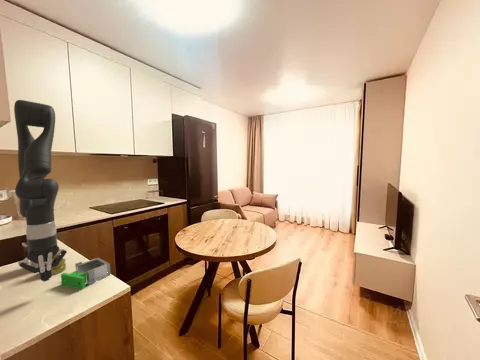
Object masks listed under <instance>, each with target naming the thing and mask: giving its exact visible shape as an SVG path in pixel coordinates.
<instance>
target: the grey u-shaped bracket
mask: <svg viewBox="0 0 480 360" xmlns="http://www.w3.org/2000/svg"><path fill="white" fill-rule="evenodd" d="M74 265H75V271H78V274H81V273H84V272H86V284H87V285H89V286H91V285H94V284H96V282H97V281H99V280H102V279H105V278H107V277H109V276H111V275H110V274H112V273H111V263H109V262H108V261H106V260H104V259H102V258H101V257H96V258H92V259H90V260H87V261H84V262H83V261H79V262H77V263H75V264H74ZM107 272H108V273H107Z"/></svg>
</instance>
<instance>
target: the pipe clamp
mask: <svg viewBox="0 0 480 360" xmlns="http://www.w3.org/2000/svg"><path fill="white" fill-rule="evenodd" d="M60 279H61V280H60V281H61V285H62V286H66V287H71V288H73V289H74V288H75V289H79V290H84V289H85V288H86V284H87V277H86V272H84V273H81V274H78V271H76V270H75V271H73V272H70V273H67V272H63V273H60Z"/></svg>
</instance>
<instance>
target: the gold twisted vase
mask: <svg viewBox="0 0 480 360" xmlns="http://www.w3.org/2000/svg"><path fill="white" fill-rule="evenodd" d="M57 253H58V252H57ZM56 256H57V254H56V255H55V256H54V258H53V259H52V262H53V260H54V259H55V258H56ZM44 268H45V263H44ZM66 269H67V264H66V258H65V257H63V258H62V260H61V261H60V262H59V264H58V265H57V266H56V267H53V268H52V269H51V276H53V275H57V274H61V273H62V272H64V271H65V270H66Z"/></svg>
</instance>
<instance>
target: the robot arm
mask: <svg viewBox="0 0 480 360" xmlns="http://www.w3.org/2000/svg"><path fill="white" fill-rule="evenodd" d="M13 113H14V121H15V128H16V133H17V134H16V135H17V152H18V153H17V165H18V174H19V175H18V176H19V179H18V181H17V184H16V185H15V188H14V193H15V195H16V197H17V198H18V199H19V213H20V215H21V217H23V218H25V221H26V222H25V223H26V228H25V231H26V232H25V234H26V235H25V236H26V243H27V244H26V245H27V254H25V258H24V259H23V260H20V261H19V262H18V263H17V264H18V266H19V267H20V268H23V269H25V270H27V271H29V272H31V273H32V274H38V273H39V280H40V281H42V282H43V283H45V282H48V281H50V279H52V275H51V269H52V268H53V267H56V266H57V265H58V264H59V262H60V261H61V260H62V258H65V256H66V254H67V253H68V251H67V250H66V249H63V248H60V247H59V246H58V236H57V231H58V229H57V225H56V222H55V221H56V220H55V203H56V199H57V196H58V192H59V189H60V186H59V183H58V182H57V181H56V180H55V179H53V178H46V177H47V176H48V175H50V173H52V147H53V142H54V135H55V129H56V111H55V109H54V107H53V106H52V105H49V104H46V103H40V102H35V101H30V100H22V99H17V100H16V101H15V102H14V108H13ZM29 127H37V128H43V130H42V132H41V133H40V134H39V136H38V137H36V138H34V137H33V136H34V135H32V133H31V131H30V128H29ZM57 252H58V253H57ZM56 254H57V256H56V258H55V259H54V260H53V262H52V259H53V258H54V256H55V255H56ZM44 263H45V268H44Z"/></svg>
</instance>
